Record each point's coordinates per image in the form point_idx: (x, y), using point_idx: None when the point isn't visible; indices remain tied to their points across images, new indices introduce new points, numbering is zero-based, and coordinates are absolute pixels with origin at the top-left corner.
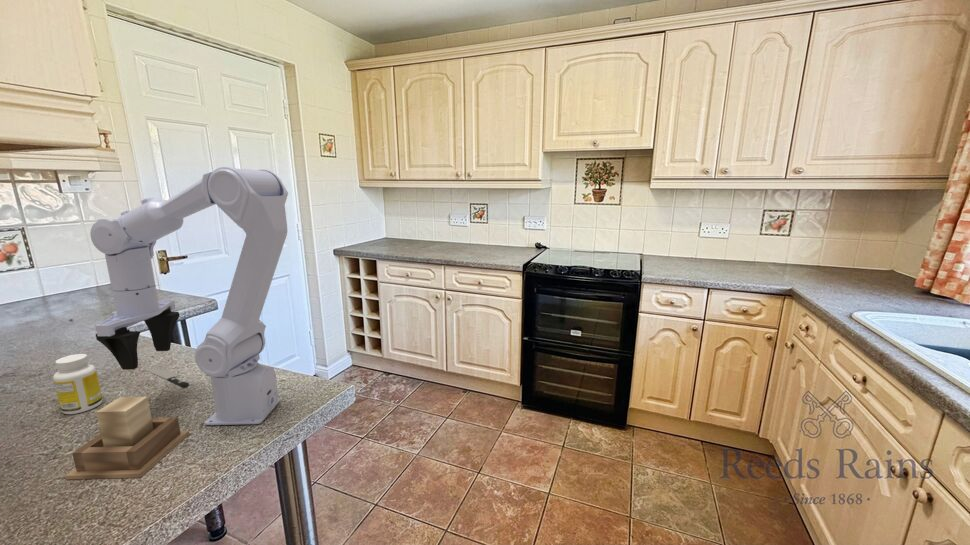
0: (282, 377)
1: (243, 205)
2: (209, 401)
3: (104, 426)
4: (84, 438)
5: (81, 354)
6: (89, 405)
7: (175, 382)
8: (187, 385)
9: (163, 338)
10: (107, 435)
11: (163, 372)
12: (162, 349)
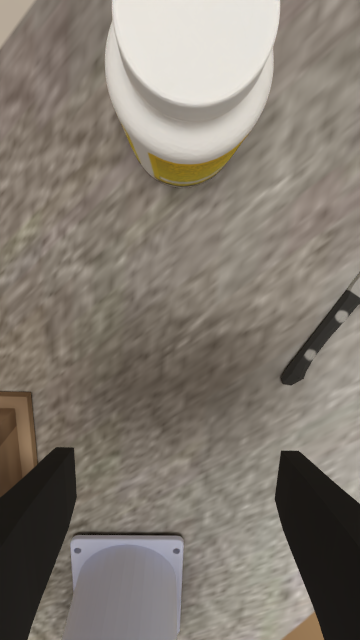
0: (304, 588)
1: None
2: (188, 485)
3: None
4: (12, 296)
5: (261, 29)
6: (157, 179)
7: (314, 336)
8: (287, 384)
9: (309, 556)
10: None
11: None
12: (281, 485)
